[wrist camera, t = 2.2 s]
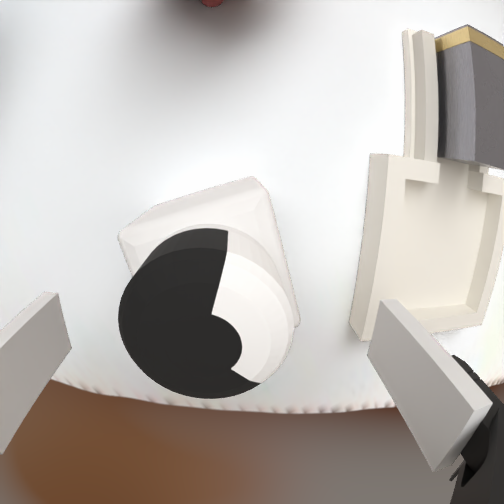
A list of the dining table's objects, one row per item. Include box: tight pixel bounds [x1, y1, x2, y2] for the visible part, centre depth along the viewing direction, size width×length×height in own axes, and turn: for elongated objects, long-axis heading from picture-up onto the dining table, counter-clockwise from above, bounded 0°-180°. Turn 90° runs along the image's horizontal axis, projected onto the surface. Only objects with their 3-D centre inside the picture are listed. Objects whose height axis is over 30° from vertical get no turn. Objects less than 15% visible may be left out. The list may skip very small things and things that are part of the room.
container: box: [118, 176, 300, 399], centre depth 16 cm, size 8×8×13 cm
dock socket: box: [349, 29, 504, 341], centre depth 21 cm, size 14×25×3 cm, turn 178°
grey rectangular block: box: [434, 24, 504, 170], centre depth 16 cm, size 4×10×5 cm, turn 178°
